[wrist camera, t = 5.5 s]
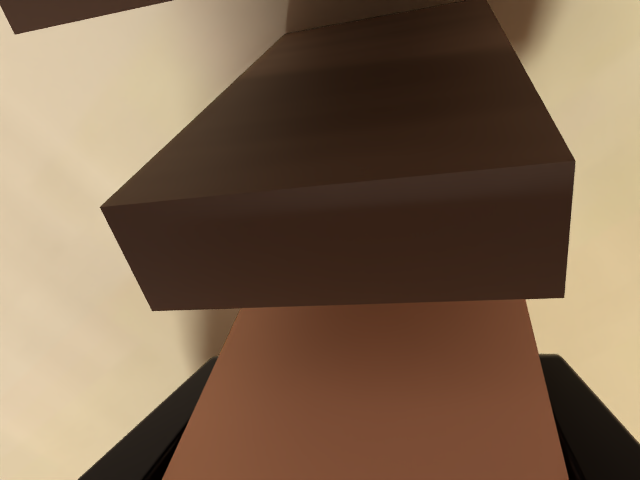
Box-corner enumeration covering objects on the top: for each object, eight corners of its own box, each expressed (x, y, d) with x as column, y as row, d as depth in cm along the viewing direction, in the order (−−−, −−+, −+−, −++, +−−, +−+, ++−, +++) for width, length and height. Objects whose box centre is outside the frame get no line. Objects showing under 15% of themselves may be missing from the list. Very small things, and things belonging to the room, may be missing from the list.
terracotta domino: (501, 259, 12) (625, 878, 4) (297, 269, 13) (122, 760, 6) (501, 199, 11) (657, 846, 3) (282, 216, 12) (54, 713, 5)
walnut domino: (485, 65, 13) (563, 298, 5) (298, 93, 14) (151, 310, 7) (484, -3, 12) (576, 161, 4) (285, 33, 13) (99, 207, 6)
